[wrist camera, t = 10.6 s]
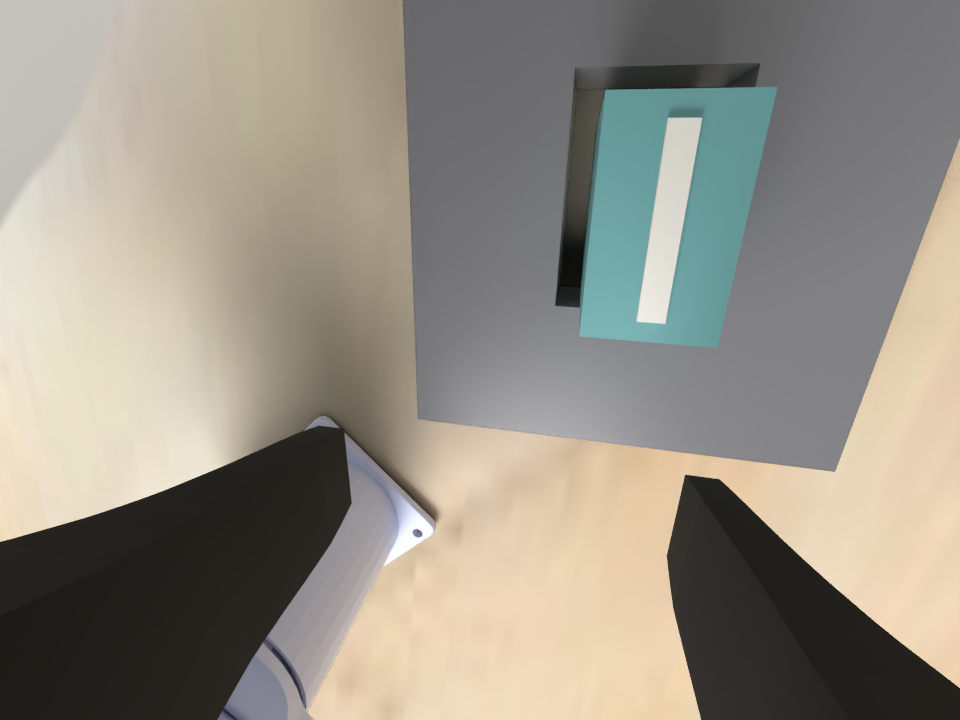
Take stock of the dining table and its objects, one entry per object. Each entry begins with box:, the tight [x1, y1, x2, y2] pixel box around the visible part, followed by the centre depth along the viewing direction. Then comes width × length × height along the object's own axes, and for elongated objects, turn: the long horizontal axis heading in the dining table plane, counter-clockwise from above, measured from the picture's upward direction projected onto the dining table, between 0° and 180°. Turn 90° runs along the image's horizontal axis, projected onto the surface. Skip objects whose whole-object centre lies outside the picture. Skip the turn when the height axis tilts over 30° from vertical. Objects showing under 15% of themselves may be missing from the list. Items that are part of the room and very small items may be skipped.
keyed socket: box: [403, 0, 960, 472], centre depth 14 cm, size 16×14×3 cm
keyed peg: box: [579, 87, 777, 348], centre depth 12 cm, size 5×3×7 cm, turn 179°
